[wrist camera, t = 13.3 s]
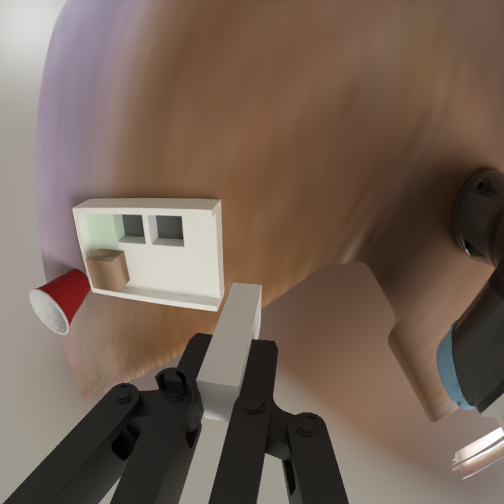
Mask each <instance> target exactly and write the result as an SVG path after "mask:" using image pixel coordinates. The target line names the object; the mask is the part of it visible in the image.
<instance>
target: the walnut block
mask: <svg viewBox="0 0 504 504" xmlns="http://www.w3.org/2000/svg"><path fill="white" fill-rule="evenodd" d="M86 263H87V267H88V271H89V274H90V278H91V281H92V285H93V288H96V289H101V290H107V291H113V292H118V293H119V292H120V291H121V289H122V288H123V287H124V286H125V285H126V284H127V283H128V282H129V281H130V277H129V273H128V268H127V263H126V258H125V253H124V251H120V250H109V249H98V250H96V251H95V252H94V253H92V254H91V255H90V256H89V257H88V258H86Z"/></svg>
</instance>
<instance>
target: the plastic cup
mask: <svg viewBox="0 0 504 504" xmlns="http://www.w3.org/2000/svg"><path fill="white" fill-rule="evenodd" d="M89 289H90V283H89V281H88V279H87V277H86V276H85V275H84V274H83V273H82V272H81V271H79V270H72V271H70V272H68V273H66V274H65V275H62V276H60V277H58V278H56V279H55V280H53V281H51V282H49V283H48V284H46V285H44V286H42V287H39V288H37V289H32V290H31V291H30V292H29V299H30V302H31V305H32V307H33V309H34V311H35V312H36V314H37V315H38V317H39V318H40V319H41V321H42V322H44V324H45V325H47V326H48V327H49V328H50V329H51V330H53V331H54V332H56V333H58V334H61V335H65V334H67V333H68V330H69V326H70V323H71V321H72V319H73V317H74V315H75V314H76V312H77V310H78V309H79V307H80V306H81V304H82V302H83V300H84V298H85V297H86V295H87V294H88V292H89Z"/></svg>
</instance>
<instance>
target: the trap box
mask: <svg viewBox="0 0 504 504" xmlns="http://www.w3.org/2000/svg"><path fill="white" fill-rule="evenodd" d="M72 209H73V215H74V220H75V225H76V230H77V235H78V239H79V244H80V248H81V252H82V256H83V260H84V264H85V268H86V272H87V275H88V279H89V282H90V286H91V289H92V292H95V293H100V294H105V295H111V296H116V297H122V298H127V299H133V300H139V301H146V302H152V303H158V304H165V305H172V306H179V307H186V308H194V309H202V310H210V311H218V308H219V306H220V303H221V301H222V298H223V296H224V273H223V247H222V216H221V199H189V198H103V199H89V200H87V201H85V202H83V203H81V204H79V205H77V206H75V207H73V208H72ZM98 249H109V250H120V251H124V253H125V258H126V263H127V268H128V273H129V277H130V281H129V282H128V283H127V284H126V285H125V286H124V287H123V288H122V289H121V291H120V292H119V293H118V292H113V291H107V290H101V289H96V288H93V285H92V281H91V278H90V274H89V271H88V267H87V263H86V258H88V257H89V256H90V255H91V254H92V253H94V252H95V251H96V250H98Z"/></svg>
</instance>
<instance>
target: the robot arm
mask: <svg viewBox="0 0 504 504" xmlns="http://www.w3.org/2000/svg"><path fill="white" fill-rule="evenodd" d="M453 232H454V236H455V239H456V241H457V243H458V245H459V246H460V248H461V249H462V250H463V251H464V252H465V253H466V254H467V255H468V256H469V257H471V258H472V259H474V260H476V261H479V262H482V263H485V264H488V265H491V266H494V267H495V268H496V269H495V270H494V272H493V273H492V275H491V276H490V278H489V279H488V280H487V282H486V283H485V285H484V286H483V288H482V289H481V290H480V292H479V293H478V295H477V296H476V297H475V299H474V300H473V301H472V303H471V304H470V305H469V307H468V308H467V309H466V310H465V312H464V313H463V314H462V315H461V317H460V318H459V319H458V320H456V321H455V322H454V323H453V324H452V326H451V329H450V330H449V331H448V333H447V334H446V335H445V337H444V338H443V339H442V340H441V342H440V343H439V345H438V348H437V353H436V355H437V357H436V365H437V370H438V374H439V377H440V380H441V382H442V384H443V387H444V389H445V390H446V392H447V394H448V395H449V397H450V398H451V399H452V401H453V402H456V403H457V405H458V407H460V408H462V409H465V410H470V409H473V408H475V407H476V408H477V409H478V411H479V413H480V414H481V416H493V417H496V419H497V420H498V422H499V424H500V426H501V428H502V429H503V431H504V174H503V173H501V172H498V171H496V170H491V169H487V170H482V171H479V172H477V173H475V174H474V175H473V176H471V177H470V178H469V179H468V180H467V181H466V183H465V184H464V185H463V187H462V188H461V190H460V192H459V194H458V197H457V199H456V202H455V206H454V210H453ZM261 293H262V285H256V284H244V283H233V284H232V287H231V289H230V292H229V295H228V297H227V300H226V302H225V305H224V308H223V310H222V313H221V316H220V318H219V321H218V324H217V326H216V329H215V331H214V334H213V335H210V334H202V333H197V334H195V335H194V336H193V337H192V338H191V339H190V340H189V342H188V344H187V347H186V349H185V351H184V353H183V356H182V357H181V360H180V362H179V364H178V366H177V368H167V369H164V370H162V371H160V372H159V373H158V374H157V375H156V377H155V378H156V381H157V384H158V386H159V389H158V390H152V391H138V389H137V388H136V387H135V386H134V385H132V384H129V383H121V384H118V385H116V386H114V387H113V388H112V389H111V390H110V391H109V392H108V393H107V394H106V395H105V396H104V397H103V398H102V399H101V400H100V401H99V402H98V404H96V405H95V407H94V408H93V409H92V410H91V411H90V412H89V413H88V414H87V415H86V416H85V417H84V418H83V419H82V420H81V421H80V422H79V423H78V424H77V426H75V427H74V429H73V430H72V431H71V432H70V433H69V434H68V435H67V436H66V437H65V438H64V439H63V440H62V441H61V442H60V443H59V445H57V447H56V448H55V449H54V450H53V451H52V452H51V453H50V454H49V455H48V456H47V457H46V458H45V459H44V460H43V461H42V462H41V463H40V465H39V466H38V467H37V468H36V469H35V470H34V471H33V472H32V473H31V474H30V475H29V476H28V477H27V478H26V480H25V481H24V482H23V483H22V484H21V485H20V486H19V487H18V488H17V489H16V490H15V491H14V492H13V493H12V494H11V496H10V497H9V498H8V499H7V500H6V501H5V502H4V503H3V504H98V503H99V502H100V501H101V500H102V499H103V497H104V496H105V495H106V494H107V492H108V491H109V490H110V489H111V488H112V486H113V485H114V484H115V483H116V481H117V480H118V479H119V478H120V476H121V475H122V476H121V478H120V481H119V483H118V486H117V488H116V490H115V493H114V495H113V497H112V500H111V502H110V504H178V503H179V500H180V497H181V494H182V490H183V487H184V484H185V481H186V477H187V474H188V471H189V468H190V464H191V461H192V458H193V455H194V451H195V449H196V445H197V442H198V439H199V436H200V432H201V428H202V427H201V426H202V424H201V419H202V416H203V413H204V417H205V418H207V419H212V420H218V421H224V422H229V426H228V430H227V434H226V438H225V442H224V445H223V449H222V453H221V457H220V461H219V465H218V469H217V473H216V477H215V480H214V484H213V488H212V492H211V495H210V499H209V503H208V504H257V499H258V493H259V487H260V482H261V475H262V469H263V463H264V457H265V453H267V454H269V455H272V456H274V457H277V458H279V459H281V460H282V465H283V471H284V477H285V482H286V488H287V493H288V498H289V504H349V503H348V499H347V495H346V492H345V488H344V485H343V482H342V478H341V474H340V471H339V468H338V464H337V461H336V458H335V454H334V450H333V447H332V444H331V440H330V437H329V434H328V431H327V427H326V424H325V422H324V421H323V419H322V418H321V417H319V416H318V415H316V414H313V413H304V412H303V413H300V414H297V415H293V414H291V413H288V412H285V411H283V410H281V409H280V408H279V407H278V406H277V405H276V404H275V402H274V400H273V392H274V383H275V376H276V366H277V356H278V348H277V346H276V344H275V341H268V340H258V335H259V330H260V324H261V323H260V322H261Z"/></svg>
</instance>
